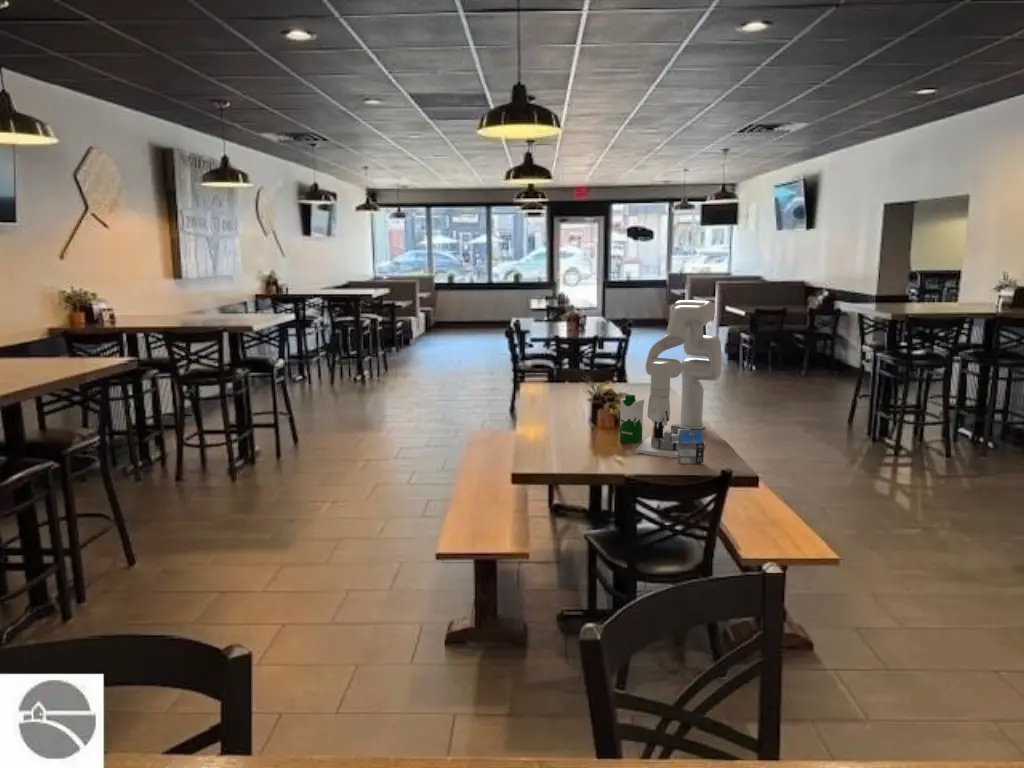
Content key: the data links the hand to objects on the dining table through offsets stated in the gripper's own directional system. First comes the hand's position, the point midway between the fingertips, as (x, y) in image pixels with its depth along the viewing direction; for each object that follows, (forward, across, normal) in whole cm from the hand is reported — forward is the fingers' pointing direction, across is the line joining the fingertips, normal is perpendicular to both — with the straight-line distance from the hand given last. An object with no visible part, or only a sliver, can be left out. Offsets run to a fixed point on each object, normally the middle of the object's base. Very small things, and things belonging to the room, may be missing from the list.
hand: (658, 437), depth 293 cm
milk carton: (+6, -17, -3) cm, 18 cm away
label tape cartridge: (+6, +19, +3) cm, 20 cm away
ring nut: (+4, 0, +6) cm, 7 cm away
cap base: (+6, 0, +6) cm, 8 cm away
